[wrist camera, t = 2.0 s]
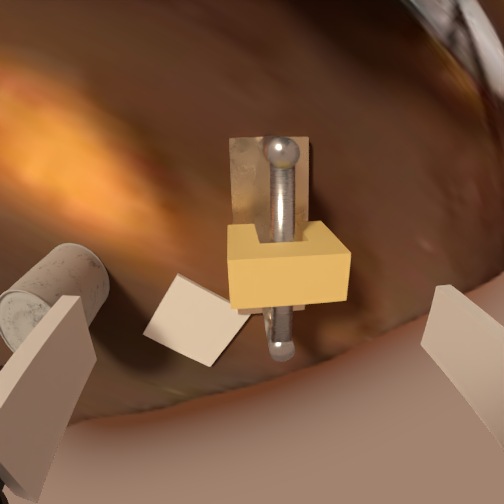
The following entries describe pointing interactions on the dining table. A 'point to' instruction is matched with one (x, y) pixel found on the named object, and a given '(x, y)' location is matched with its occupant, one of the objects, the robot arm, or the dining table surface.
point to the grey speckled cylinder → (52, 290)
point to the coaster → (194, 321)
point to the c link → (286, 267)
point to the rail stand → (271, 210)
